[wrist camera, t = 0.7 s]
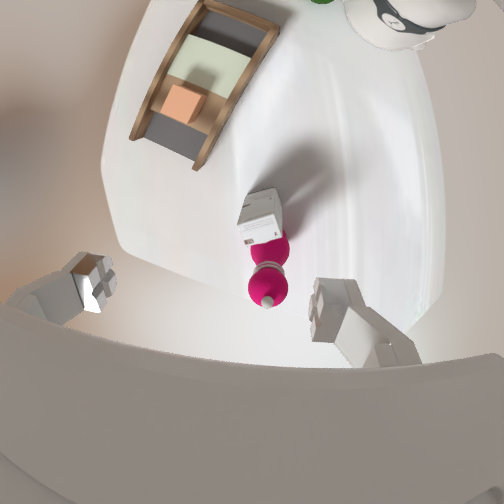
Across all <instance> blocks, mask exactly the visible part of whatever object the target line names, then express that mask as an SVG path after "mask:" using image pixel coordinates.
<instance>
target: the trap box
mask: <svg viewBox="0 0 504 504" xmlns="http://www.w3.org/2000/svg"><path fill="white" fill-rule="evenodd" d="M279 34H280V26H278V25H276V24H274V23H272V22H270V21H267V20H265V19H263V18H260V17H258V16H255V15H253V14H250V13H248V12H245V11H242V10H240V9H237V8H234V7H231V6H228V5H225V4H222V3H219V2H216V1H212V0H199V1H198V2H197V4H196V5H195V7H194V8H193V10H192V11H191V13H190V14H189V16H188V17H187V19H186V21H185V22H184V24H183V25H182V27H181V29H180V30H179V32H178V34H177V35H176V37H175V39H174V41H173V42H172V44H171V46H170V48H169V50H168V51H167V53H166V55H165V57H164V59H163V61H162V63H161V65H160V67H159V69H158V71H157V73H156V75H155V77H154V79H153V81H152V83H151V85H150V88H149V90H148V92H147V94H146V96H145V99H144V101H143V103H142V106H141V108H140V111H139V113H138V115H137V118H136V121H135V123H134V126H133V128H132V131H131V134H130V136H129V139H130V140H132V141H135V140H137V139H140V138H143V137H144V138H146V139H149V140H151V141H153V142H155V143H157V144H160V145H162V146H164V147H166V148H168V149H170V150H172V151H174V152H176V153H179V154H181V155H183V156H185V157H187V158H189V159H191V160H193V161H195V163H194V165H193V167H192V169H193V170H195V171H198V170H199V169H200V168H201V167H202V166H203V165H204V164H205V162H206V160H207V158H208V156H209V154H210V152H211V150H212V148H213V146H214V144H215V142H216V140H217V138H218V136H219V135H220V133H221V131H222V129H223V127H224V125H225V123H226V121H227V120H228V118H229V116H230V114H231V112H232V111H233V109H234V107H235V105H236V103H237V102H238V100H239V98H240V96H241V95H242V93H243V91H244V90H245V88H246V86H247V84H248V83H249V81H250V79H251V78H252V76H253V74H254V73H255V71H256V70H257V68H258V66H259V65H260V63H261V62H262V60H263V58H264V57H265V55H266V54H267V52H268V51H269V49H270V48H271V46H272V44H273V43H274V41H275V40H276V38H277V37H278V35H279ZM173 84H176V85H182V86H184V87H187V88H189V89H192V90H194V91H196V92H199V93H201V94H203V95H206V96H207V98H206V100H205V102H204V104H203V106H202V108H201V110H200V112H199V114H198V116H197V117H196V120H195V122H193V123H189V124H185V123H183V122H181V121H179V120H177V119H174V118H172V117H170V116H167V115H165V114H163V113H160V111H161V109H162V107H163V105H164V102H165V100H166V98H167V96H168V94H169V92H170V90H171V88H172V86H173Z"/></svg>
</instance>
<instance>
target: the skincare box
mask: <svg viewBox="0 0 504 504" xmlns="http://www.w3.org/2000/svg"><path fill="white" fill-rule="evenodd" d="M237 227H238V229H239V231H240V234H241V236H242V238H243V241H244V243H245V246H246V247H248V246H251V245H255V244H261V243H266V242H268V241H270V240H274V239H278V238H282V237H283V235H282V204H281V201H280V198H279V195H278V192H277V189H276V188H270V189H266V190H262V191H259V192H255V193H252V194H249V195H247V196H246V197H245V200H244V203H243V207H242V210H241V213H240V216H239V219H238V223H237Z"/></svg>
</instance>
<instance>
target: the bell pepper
mask: <svg viewBox="0 0 504 504" xmlns="http://www.w3.org/2000/svg"><path fill="white" fill-rule="evenodd" d="M311 1H313V2H315V3H318V4H327V3H330V2H332V1H334V0H311Z"/></svg>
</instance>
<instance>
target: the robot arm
mask: <svg viewBox="0 0 504 504" xmlns="http://www.w3.org/2000/svg"><path fill="white" fill-rule="evenodd" d="M342 1H343V3H344V6H345V12H346V15H347V18H348V20H349V22H350V24H351V25H352V27H353V28H354V30H355V31H356V32H357V33H358V34H359V35H360V36H361V37H362V38H364V39H365V40H366V41H368V42H369V43H371V44H373V45H375V46H377V47H379V48H382V49H386V50H403V49H413V50H418V51H420V50H423V49H424V48H425V45H426V42H427V41H429V40H431V39H433V38H434V37H435V35H434V34H435V32H437V31H439V30H440V29H442V28H443V27H445V26H446V25H447V24H451V23H455V22H458V21H462V20H465V19H467V18H469V17H470V16H471V15H472V14H473V12H474V11H475V8H476V0H342ZM494 1H495V2H496V3H497V5H498V6H499V7H500V8H501V9H502V10H503V11H504V0H494ZM112 266H113V262H112V258H111V257H110V256H108V255H103V254H96V253H89V252H79V253H78V254H77V255H76V256H75V257H74V258H73V259H71V260H70V261H69V263H68V264H67V265H66V266H65V267H63V268H62V270H61V271H55V272H53V273H51V274H49V275H46V276H44V277H42V278H40V279H37V280H35V281H33V282H31V283H29V284H26V285H24V286H22V287H20V288H18V289H17V290H16V291H15V292H14V293H13V294H12V295H11V296H10V297H9V298H8V299H7V301H6V302H5V303H2V302H0V504H504V358H503V357H501V356H499V355H498V354H495V353H490V354H484V355H480V356H475V357H469V358H463V359H457V360H450V361H443V362H436V363H427V364H422V362H421V359H420V357H419V354H418V352H417V350H416V347H415V345H414V342H413V341H412V340H410V339H409V338H408V337H407V336H406V335H404V334H403V333H402V332H401V331H399V330H398V329H397V328H396V327H394V326H393V325H392V324H391V323H389V322H388V321H387V320H386V319H384V318H383V317H382V316H381V315H379V314H378V313H377V312H375V311H374V310H373V309H372V308H370V307H366V305H365V302H364V300H363V297H362V295H361V292H360V290H359V287H358V285H357V282H356V280H354V279H332V278H317V277H316V279H315V282H314V286H313V287H314V294H313V295H312V296H311V299H310V303H309V320H310V321H311V322H312V324H311V328H310V330H311V337H312V341H314V342H328V343H334V345H335V346H336V347H337V348H338V350H339V351H340V352H341V353H342V354H343V356H344V357H345V358H346V359H347V361H348V362H349V363H350V364H351V366H352V367H353V368H294V367H277V366H263V365H252V364H242V363H234V362H225V361H217V360H210V359H204V358H197V357H190V356H184V355H178V354H173V353H168V352H162V351H157V350H152V349H148V348H143V347H138V346H134V345H130V344H125V343H121V342H117V341H113V340H109V339H105V338H102V337H98V336H94V335H91V334H88V333H84V332H81V331H78V330H74V329H71V328H68V327H65V326H62V325H64V324H65V323H67V322H68V321H69V320H71V319H72V318H74V317H75V316H76V315H78V314H79V313H81V312H82V311H84V309H86V310H90V311H95V312H101V310H102V309H103V307H104V306H105V305H106V303H107V297H110V296H111V295H112V294H113V293H114V291H115V288H116V283H117V282H116V275H115V273H114V272H113V270H112V269H111V268H112Z"/></svg>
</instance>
